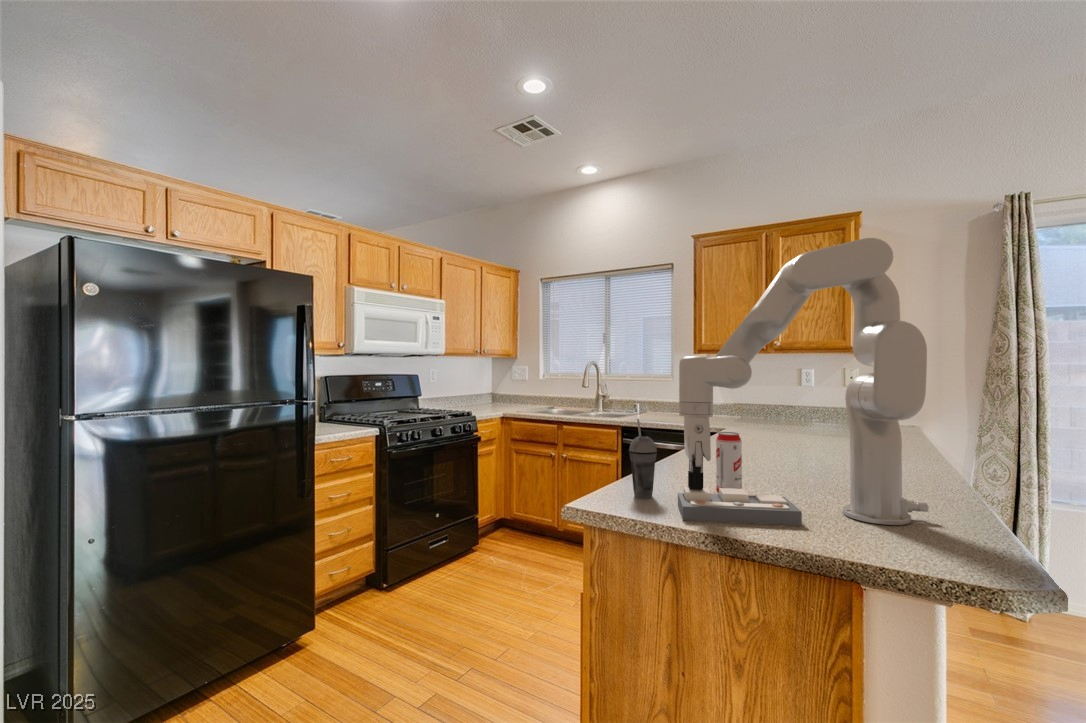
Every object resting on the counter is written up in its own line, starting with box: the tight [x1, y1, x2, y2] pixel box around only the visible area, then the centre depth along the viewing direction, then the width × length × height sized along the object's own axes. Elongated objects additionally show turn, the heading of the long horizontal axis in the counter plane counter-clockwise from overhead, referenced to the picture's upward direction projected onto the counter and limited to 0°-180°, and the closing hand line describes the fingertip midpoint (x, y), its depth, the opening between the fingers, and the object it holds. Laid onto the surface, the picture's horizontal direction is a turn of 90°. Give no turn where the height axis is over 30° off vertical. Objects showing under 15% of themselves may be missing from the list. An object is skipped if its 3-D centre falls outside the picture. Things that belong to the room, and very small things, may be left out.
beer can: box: [715, 431, 743, 494], centre depth 130 cm, size 6×6×16 cm
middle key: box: [718, 488, 750, 503], centre depth 114 cm, size 5×5×3 cm
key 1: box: [683, 486, 712, 502], centre depth 116 cm, size 5×5×3 cm
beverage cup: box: [628, 418, 658, 500], centre depth 129 cm, size 7×7×20 cm
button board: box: [677, 492, 803, 527], centre depth 112 cm, size 24×12×4 cm, turn 80°
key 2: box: [754, 494, 787, 505], centre depth 113 cm, size 5×5×3 cm
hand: (695, 488), depth 116 cm, fingers closed
